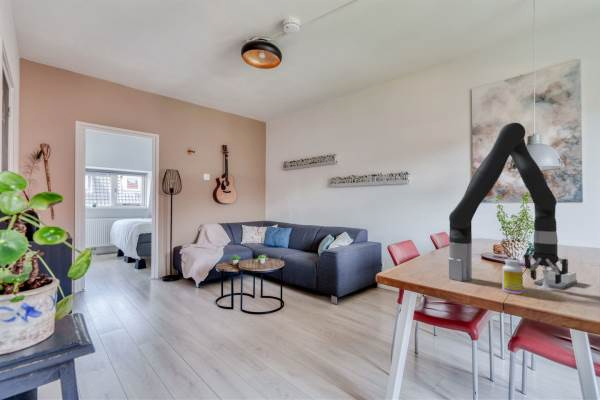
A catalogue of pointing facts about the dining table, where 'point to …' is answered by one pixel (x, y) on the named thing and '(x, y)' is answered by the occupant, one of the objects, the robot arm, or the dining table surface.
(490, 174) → the robot arm
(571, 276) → the end cap plate
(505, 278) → the supplement bottle
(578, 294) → the dining table surface
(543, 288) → the chess piece
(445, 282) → the dining table surface
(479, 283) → the dining table surface
